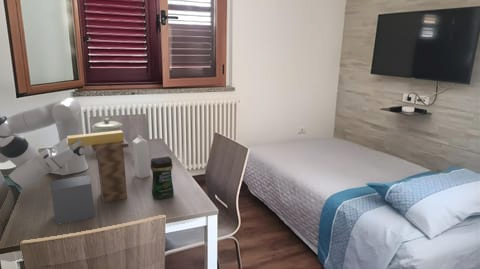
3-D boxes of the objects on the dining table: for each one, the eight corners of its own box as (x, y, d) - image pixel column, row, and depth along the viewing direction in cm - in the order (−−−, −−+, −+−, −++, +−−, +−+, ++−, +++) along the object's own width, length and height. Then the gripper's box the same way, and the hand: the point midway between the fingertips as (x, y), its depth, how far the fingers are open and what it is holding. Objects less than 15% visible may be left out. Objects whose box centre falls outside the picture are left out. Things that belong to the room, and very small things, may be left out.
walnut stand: (99, 205, 150) (93, 147, 143) (95, 193, 162) (90, 139, 155) (132, 198, 157) (128, 143, 150) (126, 187, 168) (122, 135, 162)
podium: (56, 224, 134) (50, 190, 130) (55, 213, 142) (50, 181, 139) (94, 216, 140) (91, 183, 136) (92, 206, 149) (88, 175, 145)
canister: (99, 146, 234) (95, 115, 229) (126, 145, 236) (124, 115, 231) (90, 154, 217) (87, 121, 211) (120, 153, 219) (117, 121, 213)
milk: (139, 178, 180) (136, 137, 174) (135, 175, 184) (131, 135, 178) (150, 175, 183) (147, 135, 177) (146, 172, 188) (143, 133, 182)
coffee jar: (155, 201, 154) (152, 162, 149) (150, 194, 161) (147, 156, 156) (176, 197, 159) (174, 158, 154) (170, 190, 165) (168, 153, 160)
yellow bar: (68, 147, 143) (67, 138, 142) (68, 145, 147) (67, 135, 146) (123, 141, 153) (123, 132, 152) (122, 138, 157) (121, 130, 156)
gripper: (55, 157, 153) (83, 139, 157) (56, 172, 136) (87, 151, 140) (45, 146, 151) (73, 128, 154) (45, 160, 133) (77, 139, 137)
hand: (80, 139), depth 147 cm, fingers closed on yellow bar, 4 cm apart
